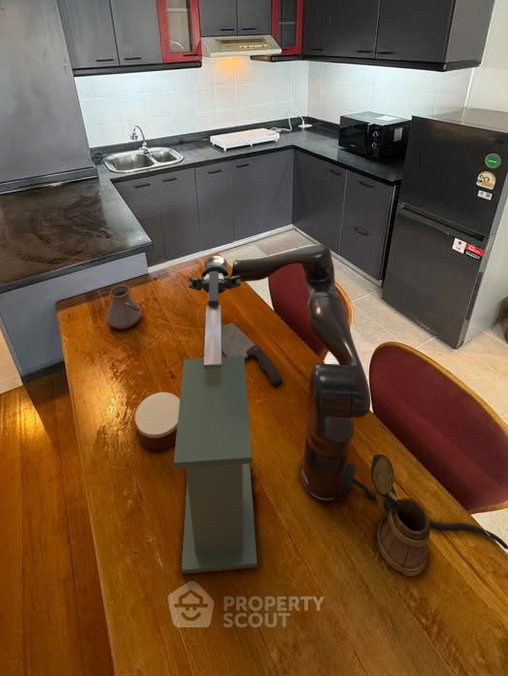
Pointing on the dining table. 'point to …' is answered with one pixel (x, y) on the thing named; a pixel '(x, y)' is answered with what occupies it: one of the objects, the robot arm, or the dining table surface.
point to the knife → (213, 326)
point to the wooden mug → (399, 523)
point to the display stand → (216, 467)
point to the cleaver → (247, 350)
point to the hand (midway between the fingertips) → (213, 286)
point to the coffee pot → (122, 308)
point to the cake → (158, 420)
